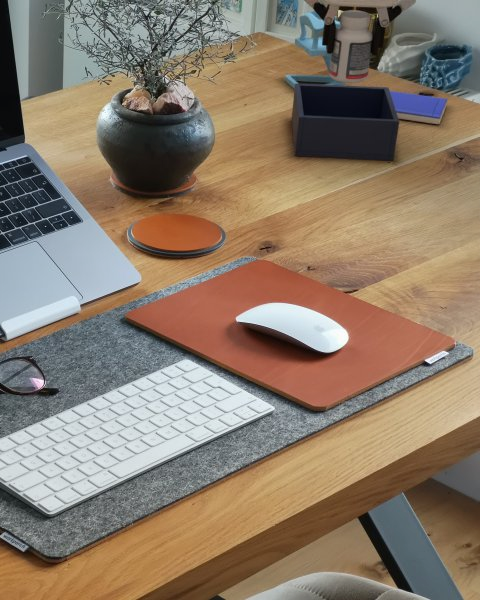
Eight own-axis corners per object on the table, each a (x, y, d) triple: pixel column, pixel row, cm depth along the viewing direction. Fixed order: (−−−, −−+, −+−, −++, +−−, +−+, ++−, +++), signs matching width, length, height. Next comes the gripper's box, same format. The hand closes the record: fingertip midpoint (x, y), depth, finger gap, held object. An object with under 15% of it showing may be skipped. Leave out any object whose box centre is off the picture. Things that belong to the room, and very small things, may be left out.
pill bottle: (373, 75, 155) (382, 12, 151) (358, 86, 152) (367, 22, 147) (337, 68, 158) (345, 6, 153) (322, 79, 154) (330, 15, 150)
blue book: (356, 103, 167) (440, 115, 163) (366, 86, 174) (447, 97, 170) (354, 113, 168) (438, 125, 164) (364, 95, 175) (446, 107, 171)
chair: (351, 92, 176) (361, 17, 170) (302, 96, 174) (311, 21, 168) (331, 76, 182) (340, 3, 176) (284, 80, 181) (291, 7, 175)
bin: (382, 124, 164) (388, 87, 161) (393, 161, 153) (399, 121, 150) (291, 120, 166) (295, 83, 163) (294, 156, 154) (298, 116, 151)
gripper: (303, -81, 141) (289, 57, 151) (441, -77, 139) (418, 63, 149) (301, -93, 148) (287, 40, 157) (433, -89, 146) (411, 45, 155)
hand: (351, 50), depth 153 cm, fingers closed on pill bottle, 5 cm apart
